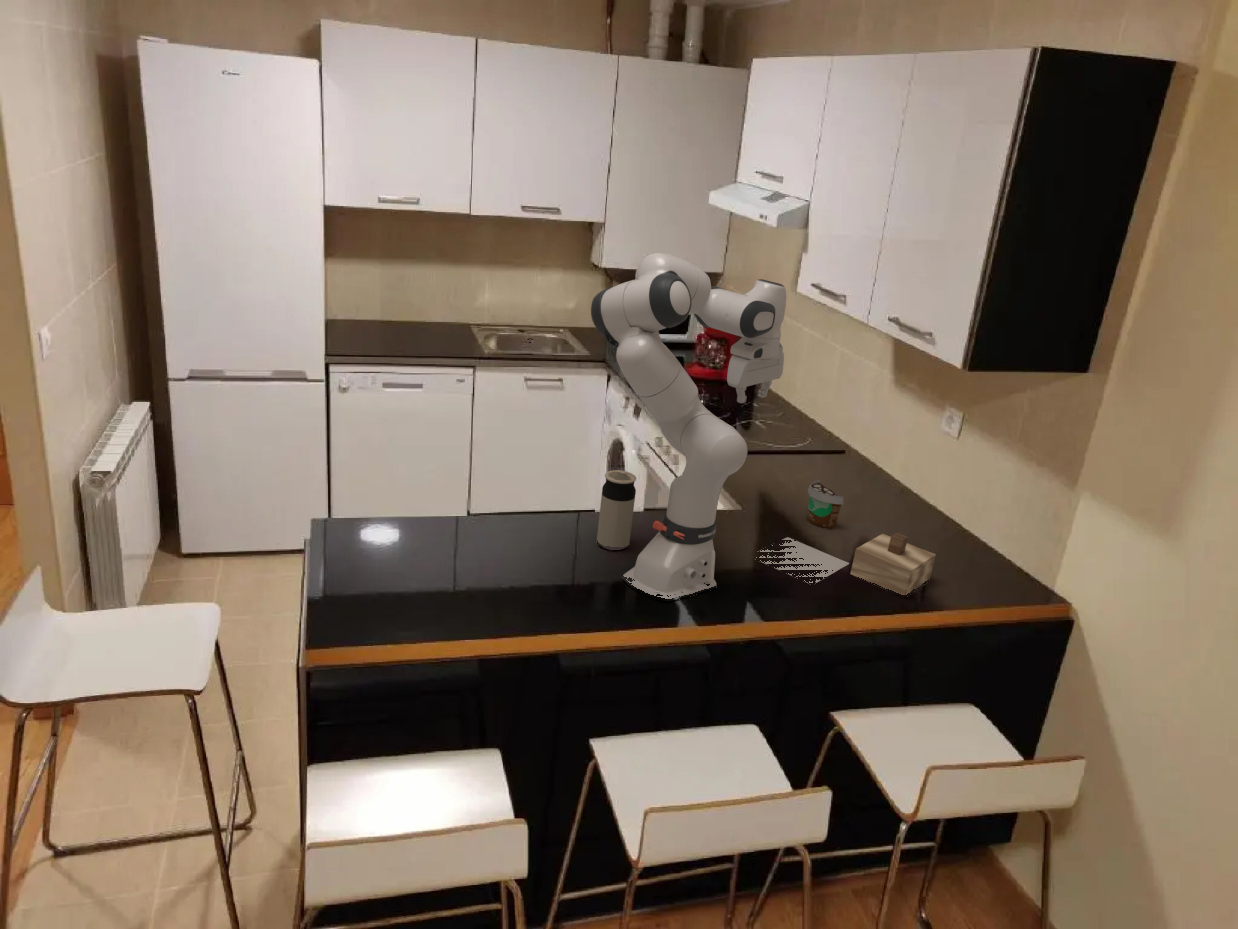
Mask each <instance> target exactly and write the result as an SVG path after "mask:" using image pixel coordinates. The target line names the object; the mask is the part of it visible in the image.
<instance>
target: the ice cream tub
mask: <svg viewBox="0 0 1238 929" xmlns="http://www.w3.org/2000/svg"><path fill="white" fill-rule="evenodd" d="M807 494H808V495H809V496H808V506H807V507H808V508H807V515H806V521H807V522H808V521H809V522H808V523H809V524H810V523H811V525H813V526H815V527H817V528H820V529H824V528H828V529H827V530H834V529H835V527H836V524H837V521H838V517H839V514H840V510H841V508H842V505H844V496H841V495H840V496H839V495H837V494H836V493H835V492H834V491H833V490H832V489H830V488H828V487H826V486H824V485H823V484H821V479H819V480H818V479H817V480H814V481H811V484H809V487H808V489H807ZM833 528H834V529H833Z"/></svg>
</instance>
